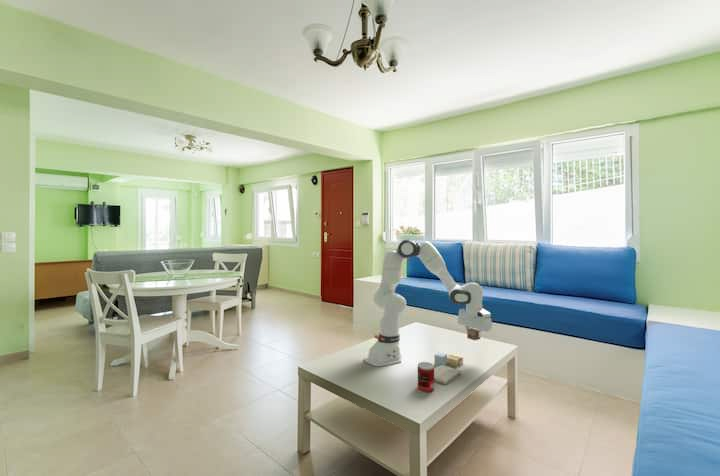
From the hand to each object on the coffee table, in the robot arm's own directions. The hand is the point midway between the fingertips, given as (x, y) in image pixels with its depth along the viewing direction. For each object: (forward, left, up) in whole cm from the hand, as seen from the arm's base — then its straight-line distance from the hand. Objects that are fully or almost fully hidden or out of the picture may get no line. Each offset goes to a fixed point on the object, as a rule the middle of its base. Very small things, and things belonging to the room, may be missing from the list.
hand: (473, 335), depth 180 cm
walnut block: (0, 0, -2) cm, 2 cm away
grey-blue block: (-18, +9, -16) cm, 25 cm away
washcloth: (-27, -1, -16) cm, 32 cm away
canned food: (-45, -5, -16) cm, 48 cm away
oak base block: (-10, +6, -16) cm, 19 cm away
